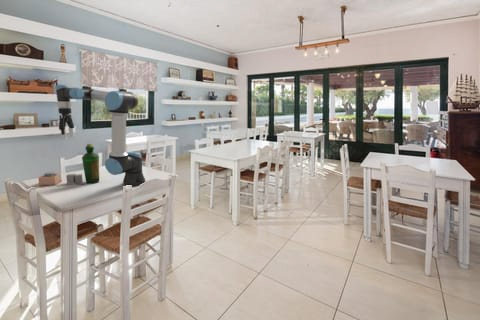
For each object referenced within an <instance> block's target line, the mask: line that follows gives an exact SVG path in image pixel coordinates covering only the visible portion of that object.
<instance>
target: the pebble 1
mask: <svg viewBox="0 0 480 320" xmlns="http://www.w3.org/2000/svg"><path fill="white" fill-rule="evenodd" d="M55 174H56V173H55V171H49V172H45V173H44V174H43V175H44V176H45V177H54V176H55Z"/></svg>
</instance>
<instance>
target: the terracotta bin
mask: <svg viewBox="0 0 480 320" xmlns="http://www.w3.org/2000/svg"><path fill="white" fill-rule="evenodd" d="M37 179H38V184H39V185H38V186H39V187H42V186H56V185H58V184H60V183H61V182H62V181H63V180H62V174H61V173H55V176H54V177H45V176H44V174H42V175H40V176H38V178H37Z"/></svg>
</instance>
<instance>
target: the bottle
mask: <svg viewBox="0 0 480 320" xmlns="http://www.w3.org/2000/svg"><path fill="white" fill-rule="evenodd" d="M85 150H86V153H84V154H83V155H82V157H81V160H82V161H81V162H82V167H83V171H84V173H83V174H84V178H85V179H84V180H85V183H86V184H92V185H93V184H97V183H99V182H100V157H99V155H98V154H97V153H95V152H94V150H95V148H94V145H93V144H92V143H89V144H88V143H87V144H86V146H85Z"/></svg>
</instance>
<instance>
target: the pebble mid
mask: <svg viewBox="0 0 480 320" xmlns="http://www.w3.org/2000/svg"><path fill="white" fill-rule="evenodd" d="M75 175H76V173H67V174H66V176H65V178H66V184H67V185H76V184H75Z"/></svg>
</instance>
